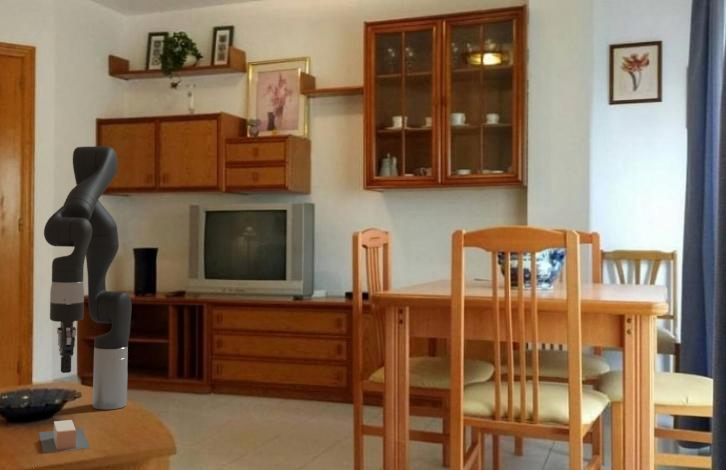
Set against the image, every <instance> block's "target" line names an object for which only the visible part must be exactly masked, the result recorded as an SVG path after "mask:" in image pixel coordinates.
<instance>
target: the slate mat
mask: <svg viewBox="0 0 726 470" xmlns="http://www.w3.org/2000/svg"><path fill="white" fill-rule="evenodd" d="M75 429H76V448H70V449H61V450H57V449H56V445H55V441H54V430H50V431H49V430H48V431H46V430H45V431H38V436H39V440H40V444H41V445H40V446H41V450H42V453H43V454H51V453H52V454H53V453H57V452H58V453H59V452H68V451H77V450H78V451H79V450H87V449H91V446H90V444H89V442H88V439H87V436H86V435H85V432H84V429H83V427H79V428H75Z"/></svg>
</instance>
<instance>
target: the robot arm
mask: <svg viewBox="0 0 726 470" xmlns="http://www.w3.org/2000/svg"><path fill="white" fill-rule="evenodd" d="M118 165H119V162H118V157H117V153H116V151H115V149H114V148H112V147H111V146H106V145H102V146H100V145H99V146H76V148H74V150H73V153H72V170H73V173H74V174H73V175H74V179H75V184H76V185H75V186H74V187H73V188H72V189H71V190H70V191H69V193H68V194H67V196H66V199H65V201H64V202H63V205H62V206H61V207H60V208H59V209H58V210H56V211H55V212H54V213H53V214H52V215H51V216H50V217H49V218H48V219H47V222H46V223H45V225H44V228H43V229H44V230H43V237H44V239H45V241H46V243H48V244H49V245H50V246H52V247H62V248H63V247H66V248H67V247H68V248H69V247H70V248H71V247H72V248H73V251H72V252H71V253H70V254H68V255H64V256H63V255H62V256H58V257H55V258H54V259H53V260H52V263H51V286H50V290H49V291H50V292H49V293H50V295H49V297H50V299H49V319H50V321H51V322H52V321H53V322H57V323H59V322H60V325H59V326H60V327H57V329H56V334H57V335H58V336H57V346H58V347H59V348H58V351H59V356H60V372H61V373H62V374H68V373H71V372H72V357H73V355H74V348H75V345H76V336H77V328H76V326H74V322H80V321H82V320H84V318H85V311H84V309H85V286H84V266H85V261H86V269H87V272H86V273H87V296H88V297H87V298H88V299H87V300H88V301H87V302H88V304H87V306H88V312H89V316H90V319H91V320H92V321H93V322H94V323H99V324H111V329H110V331H108V332H106V333H104V334H101V335H98V336H96V337H94V341H93V342H94V343H93V347H94V348H93V381H92V382H93V384H92V408H93V409H97V410H115V409H116V410H117V409H121V408H124V407H126V406H127V403H128V374H129V373H128V361H129V360H128V357H129V355H128V354H129V352H128V350H129V349H128V347H129V340H130V336H131V320H132V308H133V307H132V305H133V304H132V299H131V298H132V297H131V296H130V294H129V293H128V292H124V291H111V290H110V291H108V290H107V287H106V280H107V279H106V277H107V274H108V271H109V268H110V266H111V265H112V263H113V261H114V260H115V257H116V256H117V254H118V250H119V233H118V225H117V223H116V221H115V219H114V218H113V216H112V215H111V213H110V212H109V211H108V210H107V209H106V208H105V206H104V205H103V204H102V202H100V200H99V199H100V198H101V197H102V195H103V194H104V192H105V191H106V190H107V189H108V187H109V186H110V184H111V183H112V182H113V180H114V178H115V177H116V174H117V172H118Z"/></svg>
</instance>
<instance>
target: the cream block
mask: <svg viewBox="0 0 726 470" xmlns="http://www.w3.org/2000/svg"><path fill="white" fill-rule="evenodd" d="M76 429H77V428H76V427H75V424H74V422H73V419H67V420H58V421H57V420H55V421H53V431H54V441H55V445H56V449H57V450H61V449H70V448H76Z"/></svg>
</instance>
